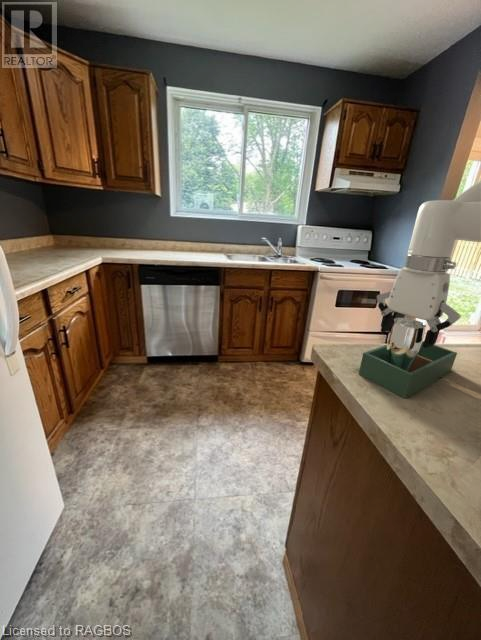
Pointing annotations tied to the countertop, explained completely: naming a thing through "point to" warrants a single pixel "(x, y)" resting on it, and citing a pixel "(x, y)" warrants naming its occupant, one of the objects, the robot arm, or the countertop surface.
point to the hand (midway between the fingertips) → (405, 338)
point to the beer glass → (404, 342)
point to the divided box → (403, 382)
